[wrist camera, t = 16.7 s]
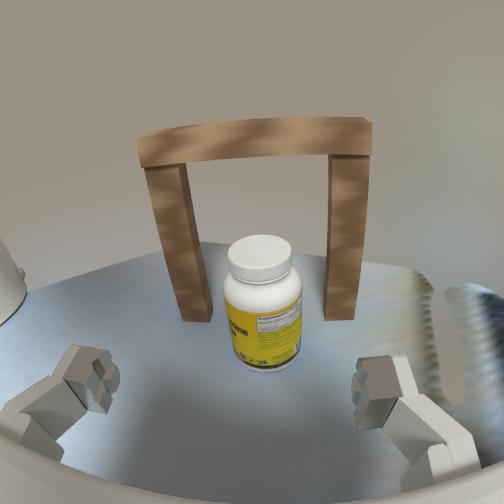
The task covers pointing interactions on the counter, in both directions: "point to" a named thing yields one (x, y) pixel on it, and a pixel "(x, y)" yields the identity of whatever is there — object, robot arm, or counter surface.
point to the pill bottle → (263, 303)
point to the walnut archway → (256, 145)
